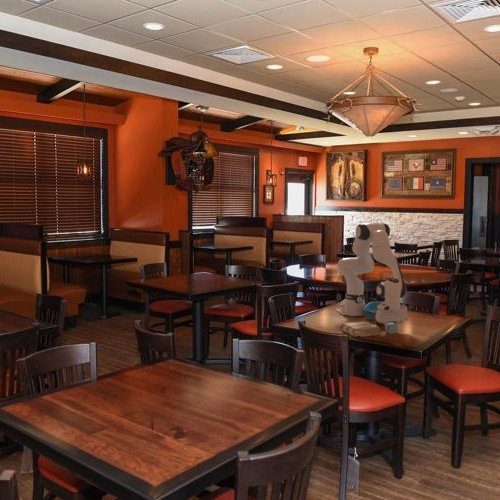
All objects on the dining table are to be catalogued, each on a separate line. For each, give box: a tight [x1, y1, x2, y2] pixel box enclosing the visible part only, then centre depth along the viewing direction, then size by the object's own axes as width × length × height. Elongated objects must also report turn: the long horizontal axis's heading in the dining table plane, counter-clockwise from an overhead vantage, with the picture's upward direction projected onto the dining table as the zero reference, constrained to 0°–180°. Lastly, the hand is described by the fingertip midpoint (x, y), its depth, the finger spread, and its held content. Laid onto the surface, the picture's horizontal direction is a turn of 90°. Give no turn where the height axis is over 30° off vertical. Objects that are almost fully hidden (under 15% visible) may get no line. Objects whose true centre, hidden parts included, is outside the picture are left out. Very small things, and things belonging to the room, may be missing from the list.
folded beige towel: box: [341, 320, 381, 338], centre depth 328 cm, size 16×16×5 cm
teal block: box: [384, 322, 399, 334], centre depth 329 cm, size 5×5×5 cm
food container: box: [374, 310, 393, 329], centre depth 342 cm, size 12×6×10 cm, turn 59°
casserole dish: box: [363, 301, 385, 322], centre depth 370 cm, size 37×22×7 cm, turn 158°
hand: (391, 328), depth 329 cm, fingers closed on teal block, 5 cm apart
